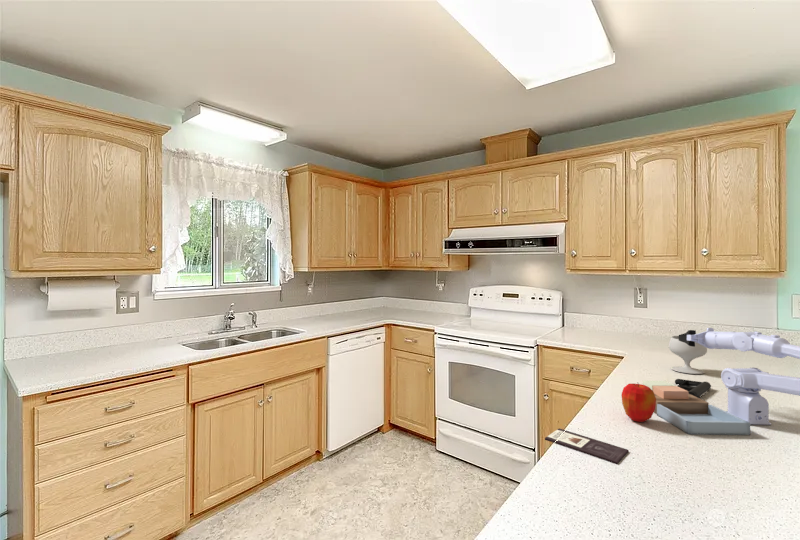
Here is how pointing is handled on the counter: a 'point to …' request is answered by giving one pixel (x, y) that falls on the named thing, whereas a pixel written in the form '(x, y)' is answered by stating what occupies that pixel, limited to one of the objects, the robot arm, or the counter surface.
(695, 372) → the chalice
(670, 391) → the tile front
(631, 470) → the counter surface
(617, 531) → the counter surface
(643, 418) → the apple
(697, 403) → the walnut board
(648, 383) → the tile rear
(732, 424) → the box
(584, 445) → the chocolate bar
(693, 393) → the black toy gun
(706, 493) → the counter surface
